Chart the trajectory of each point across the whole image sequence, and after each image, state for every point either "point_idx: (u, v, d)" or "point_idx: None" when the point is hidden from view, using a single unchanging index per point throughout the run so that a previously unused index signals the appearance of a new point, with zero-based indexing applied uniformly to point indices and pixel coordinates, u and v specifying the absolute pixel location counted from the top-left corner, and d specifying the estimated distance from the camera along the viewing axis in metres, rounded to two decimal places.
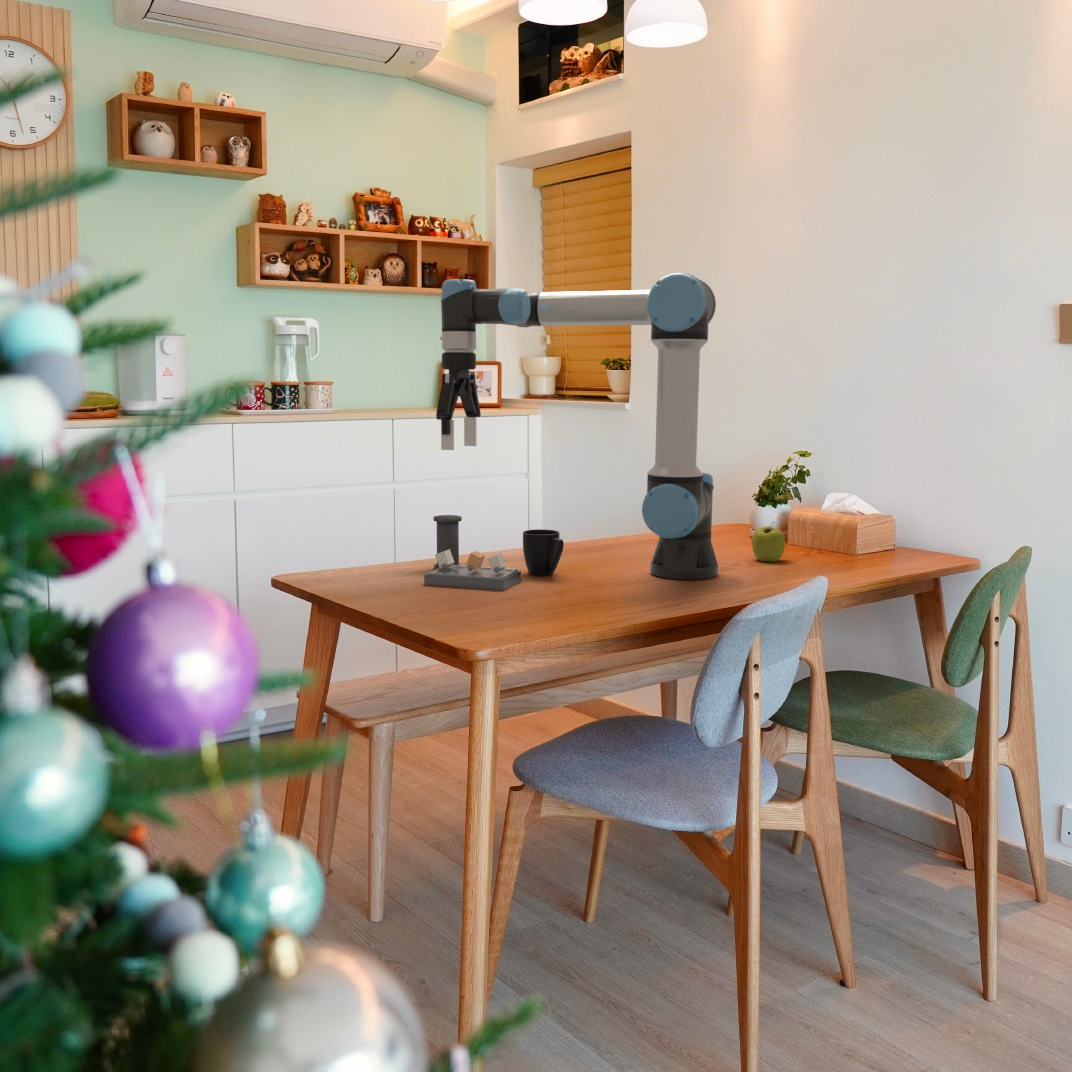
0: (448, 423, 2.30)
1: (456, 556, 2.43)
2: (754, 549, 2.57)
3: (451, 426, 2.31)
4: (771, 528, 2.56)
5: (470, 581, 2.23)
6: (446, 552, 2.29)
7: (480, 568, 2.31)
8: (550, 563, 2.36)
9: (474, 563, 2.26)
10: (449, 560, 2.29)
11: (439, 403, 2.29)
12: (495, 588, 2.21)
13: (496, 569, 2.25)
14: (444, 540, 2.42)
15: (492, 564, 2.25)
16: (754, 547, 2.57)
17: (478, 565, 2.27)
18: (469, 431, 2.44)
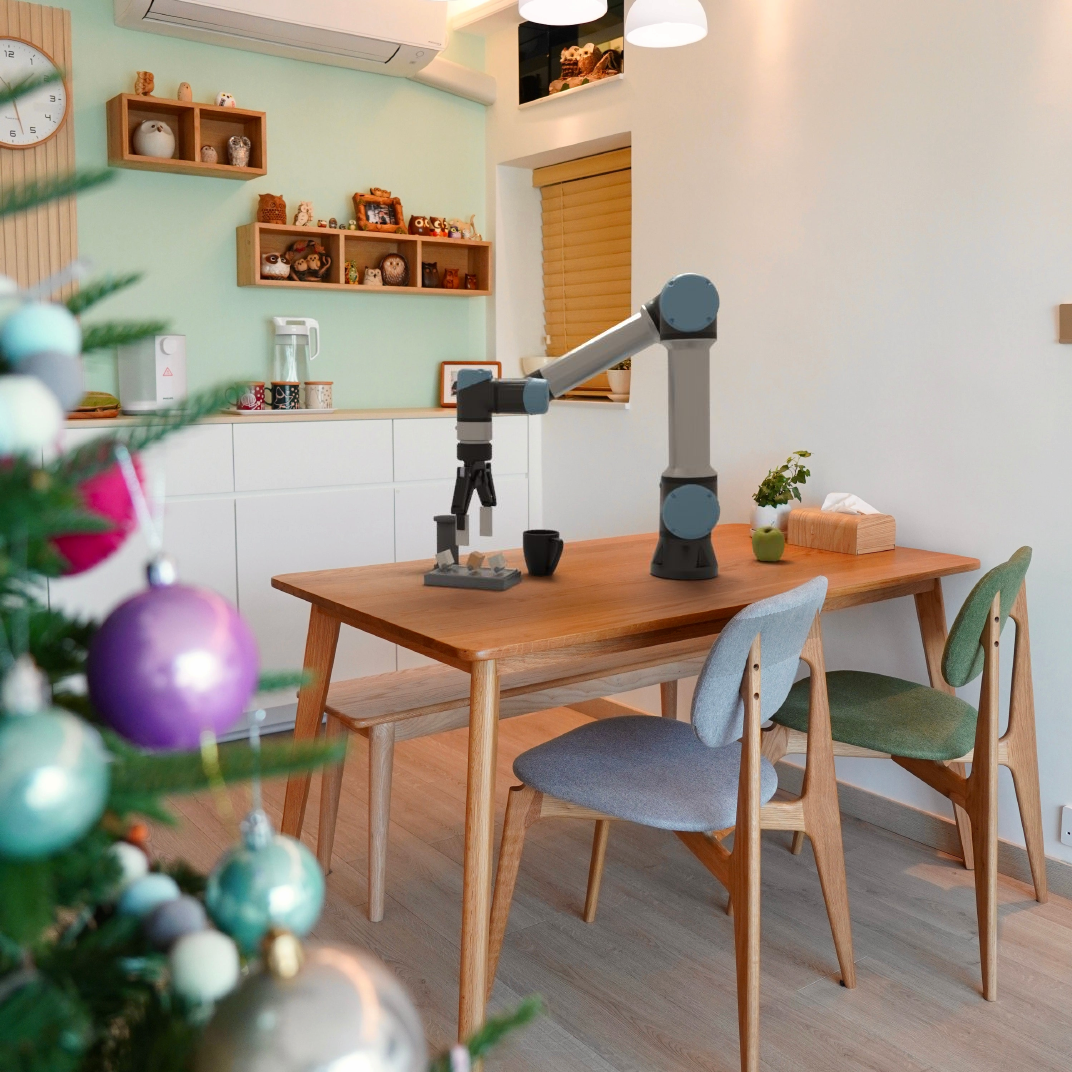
0: (463, 518, 2.21)
1: (456, 556, 2.43)
2: (754, 549, 2.57)
3: (466, 521, 2.22)
4: (771, 528, 2.56)
5: (470, 581, 2.23)
6: (446, 552, 2.29)
7: (480, 568, 2.31)
8: (550, 563, 2.36)
9: (474, 563, 2.26)
10: (449, 560, 2.29)
11: (454, 498, 2.20)
12: (495, 588, 2.21)
13: (496, 569, 2.25)
14: (444, 540, 2.42)
15: (492, 564, 2.25)
16: (754, 547, 2.57)
17: (478, 565, 2.27)
18: (484, 521, 2.35)
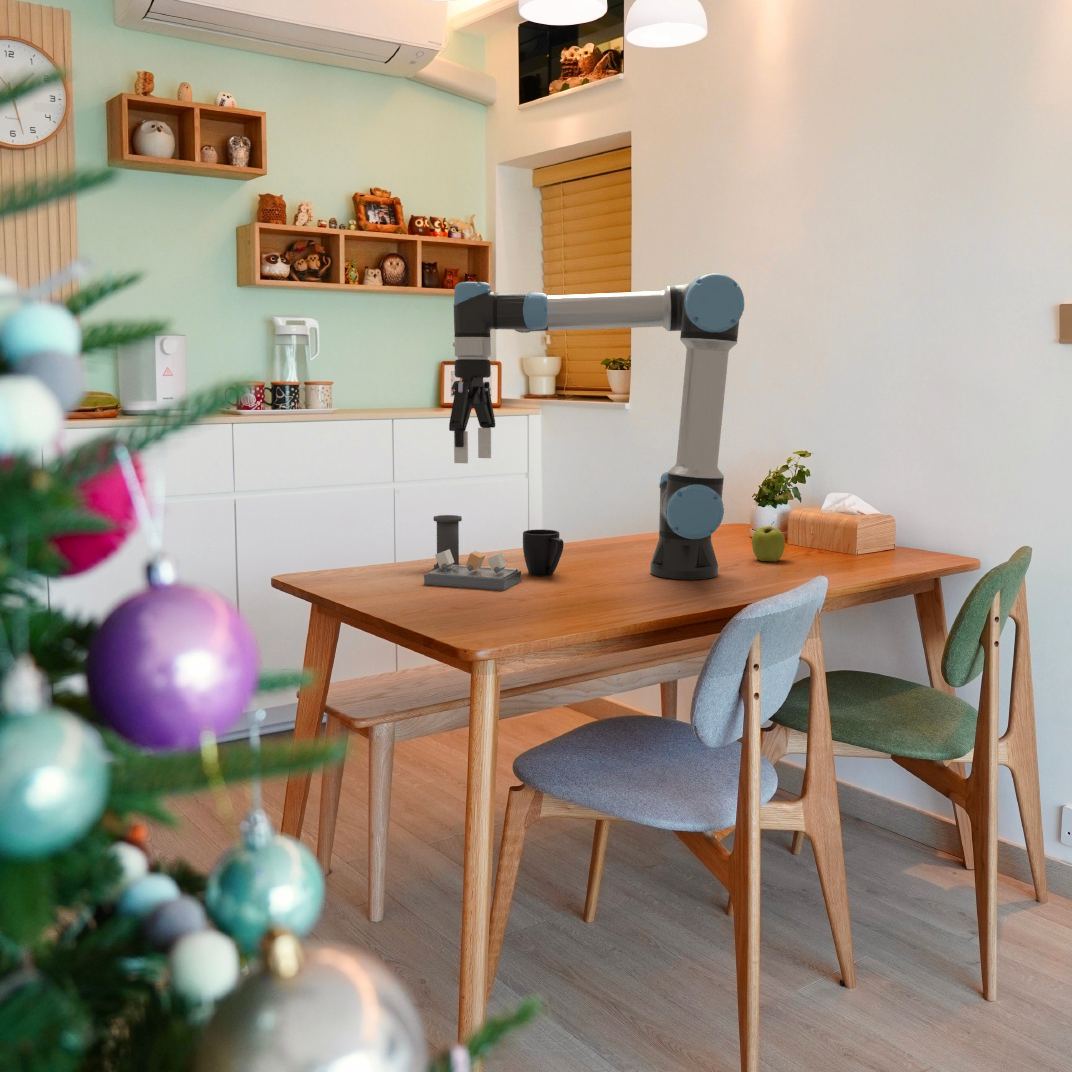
0: (462, 434, 2.16)
1: (456, 556, 2.43)
2: (754, 549, 2.57)
3: (465, 438, 2.17)
4: (771, 528, 2.56)
5: (470, 581, 2.23)
6: (446, 552, 2.29)
7: (480, 568, 2.31)
8: (550, 563, 2.36)
9: (474, 563, 2.26)
10: (449, 560, 2.29)
11: (452, 414, 2.15)
12: (495, 588, 2.21)
13: (496, 569, 2.25)
14: (444, 540, 2.42)
15: (492, 564, 2.25)
16: (754, 547, 2.57)
17: (478, 565, 2.27)
18: (483, 443, 2.30)
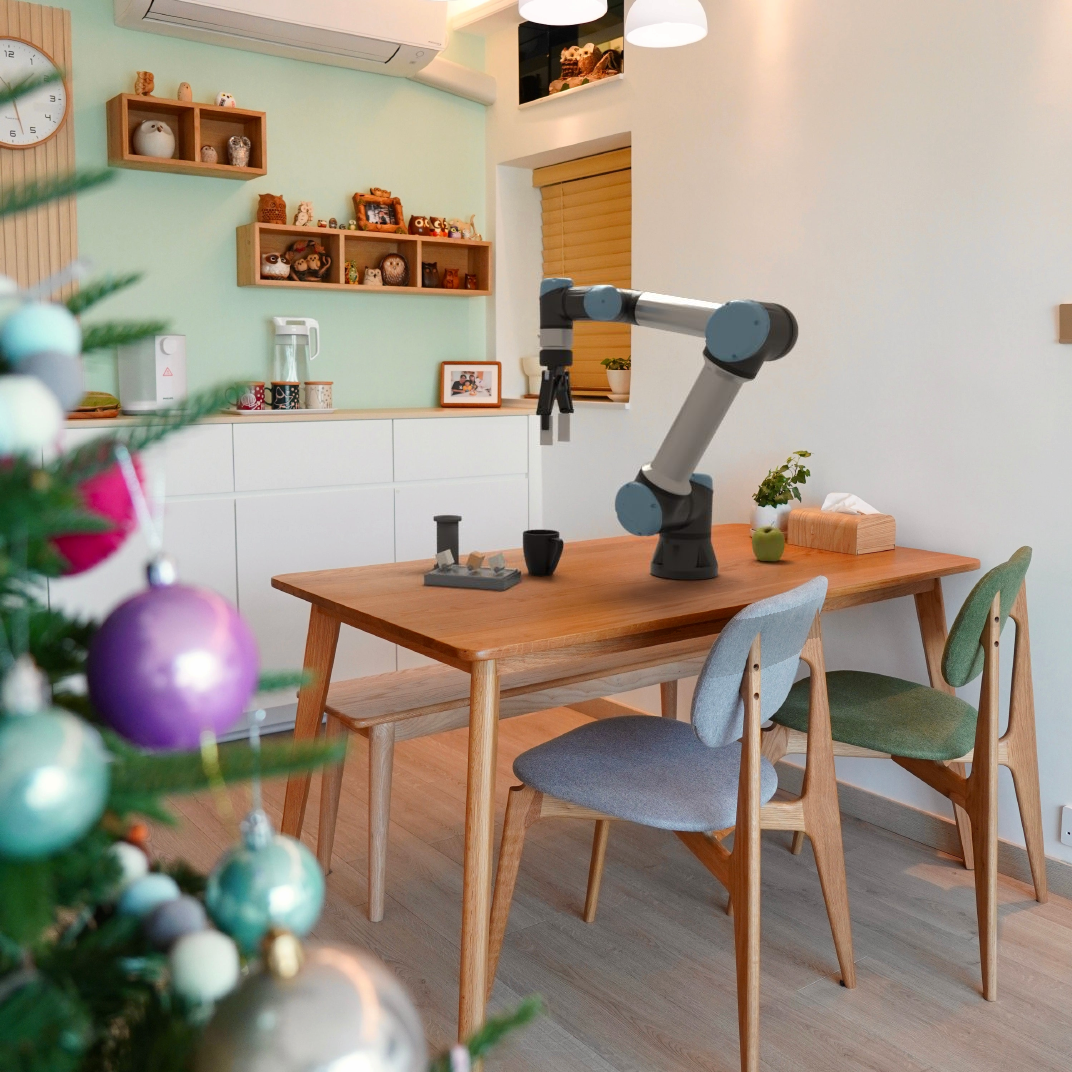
0: (548, 419, 2.35)
1: (456, 556, 2.43)
2: (754, 549, 2.57)
3: (550, 422, 2.35)
4: (771, 528, 2.56)
5: (470, 581, 2.23)
6: (446, 552, 2.29)
7: (480, 568, 2.31)
8: (550, 563, 2.36)
9: (474, 563, 2.26)
10: (449, 560, 2.29)
11: (539, 399, 2.33)
12: (495, 588, 2.21)
13: (496, 569, 2.25)
14: (444, 540, 2.42)
15: (492, 564, 2.25)
16: (753, 547, 2.57)
17: (478, 565, 2.27)
18: (562, 427, 2.49)
